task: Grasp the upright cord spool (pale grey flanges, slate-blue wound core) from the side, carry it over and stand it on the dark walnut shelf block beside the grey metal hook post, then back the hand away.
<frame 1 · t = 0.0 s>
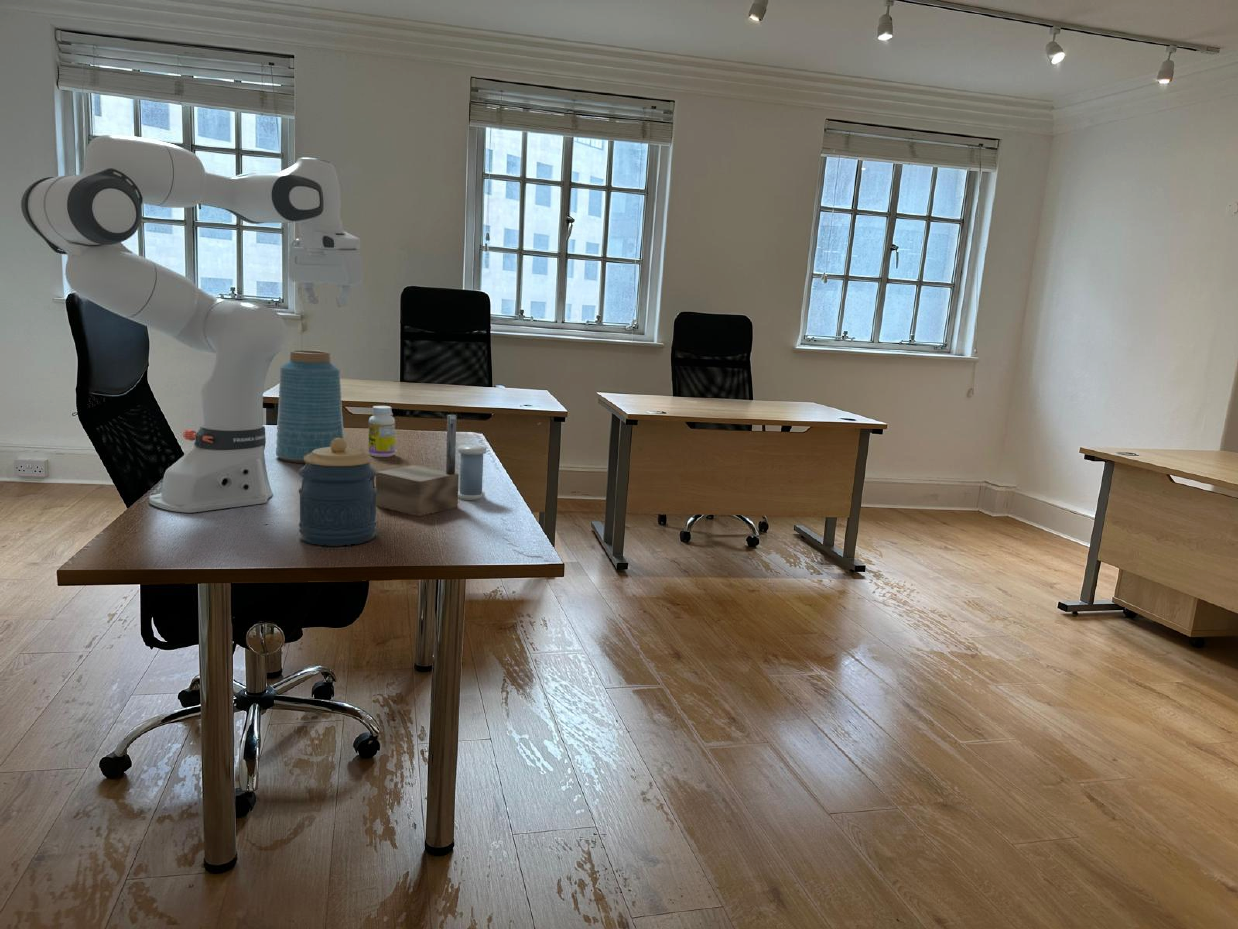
hand: (327, 305, 183), 39 cm above the table, tool pointing down, fingers open, 8 cm apart
supplement bottle: (381, 456, 222), on the table
canister: (338, 538, 148), on the table
hook post: (449, 506, 174), resting on walnut shelf block
cord spool: (470, 497, 183), on the table
walnut shelf block: (417, 506, 172), on the table
vase: (310, 458, 213), on the table
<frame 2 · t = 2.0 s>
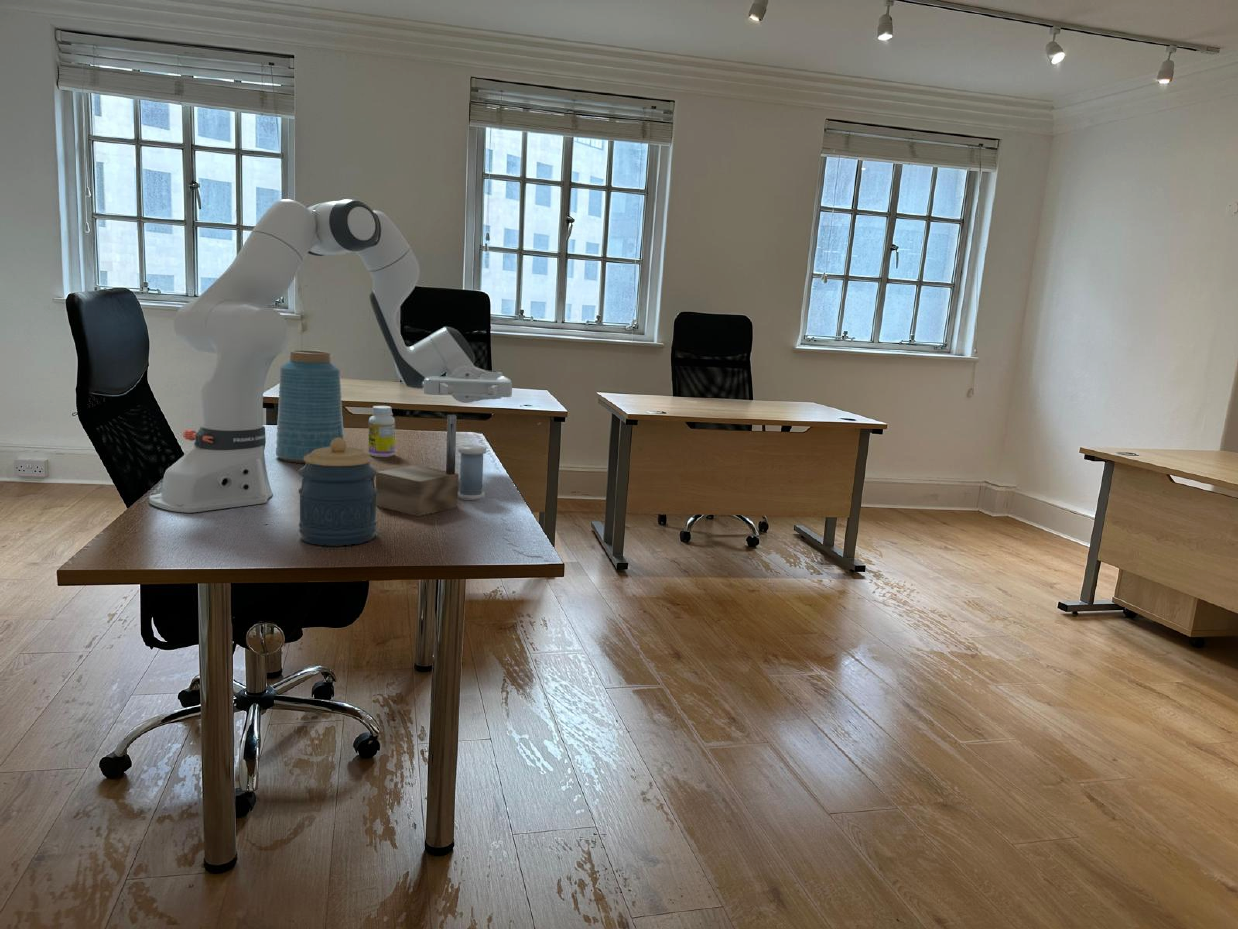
hand: (470, 390, 189), 22 cm above the table, tool horizontal, fingers open, 8 cm apart
nothing on the table moved.
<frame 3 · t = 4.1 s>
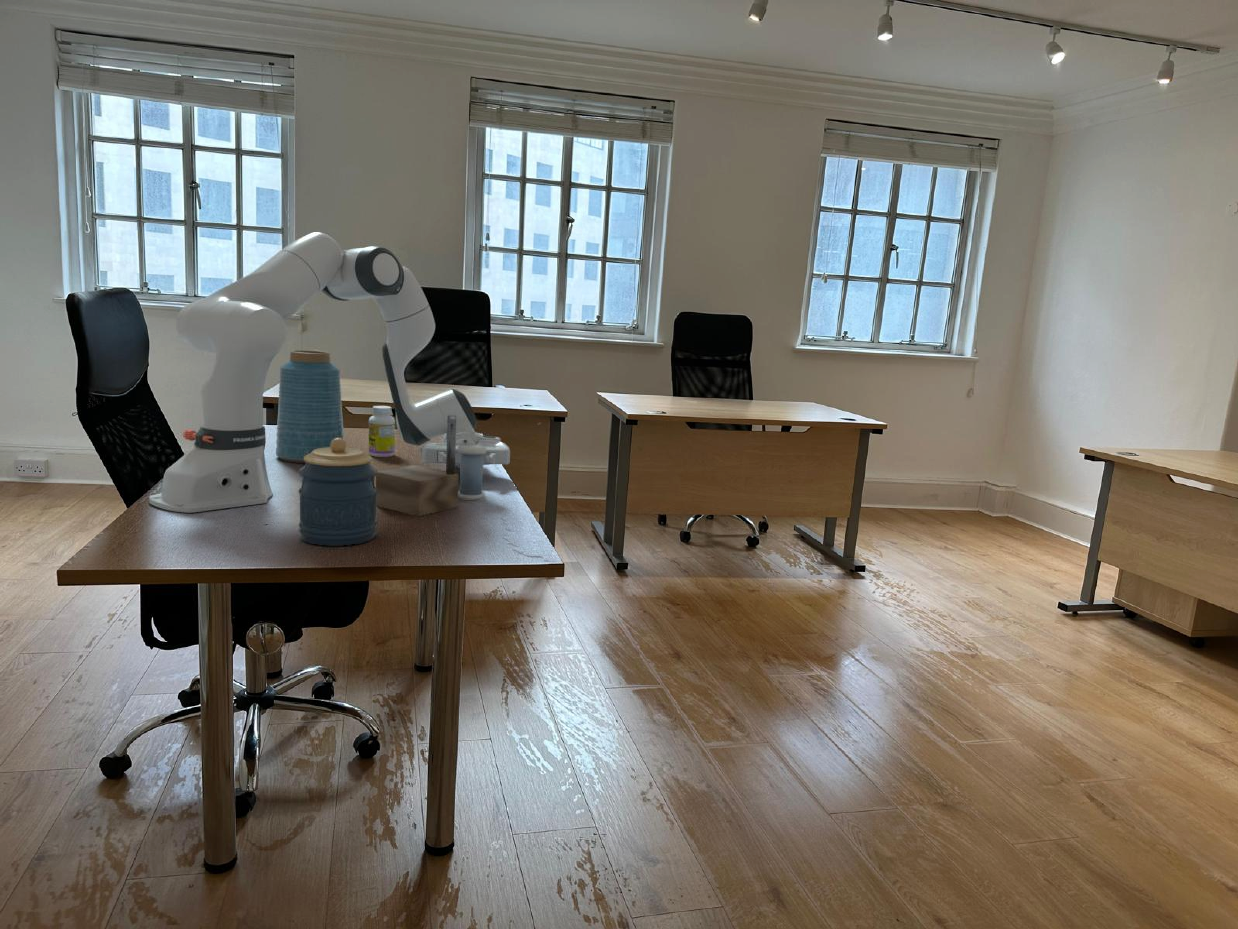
hand: (468, 460, 190), 6 cm above the table, tool horizontal, fingers open, 8 cm apart
nothing on the table moved.
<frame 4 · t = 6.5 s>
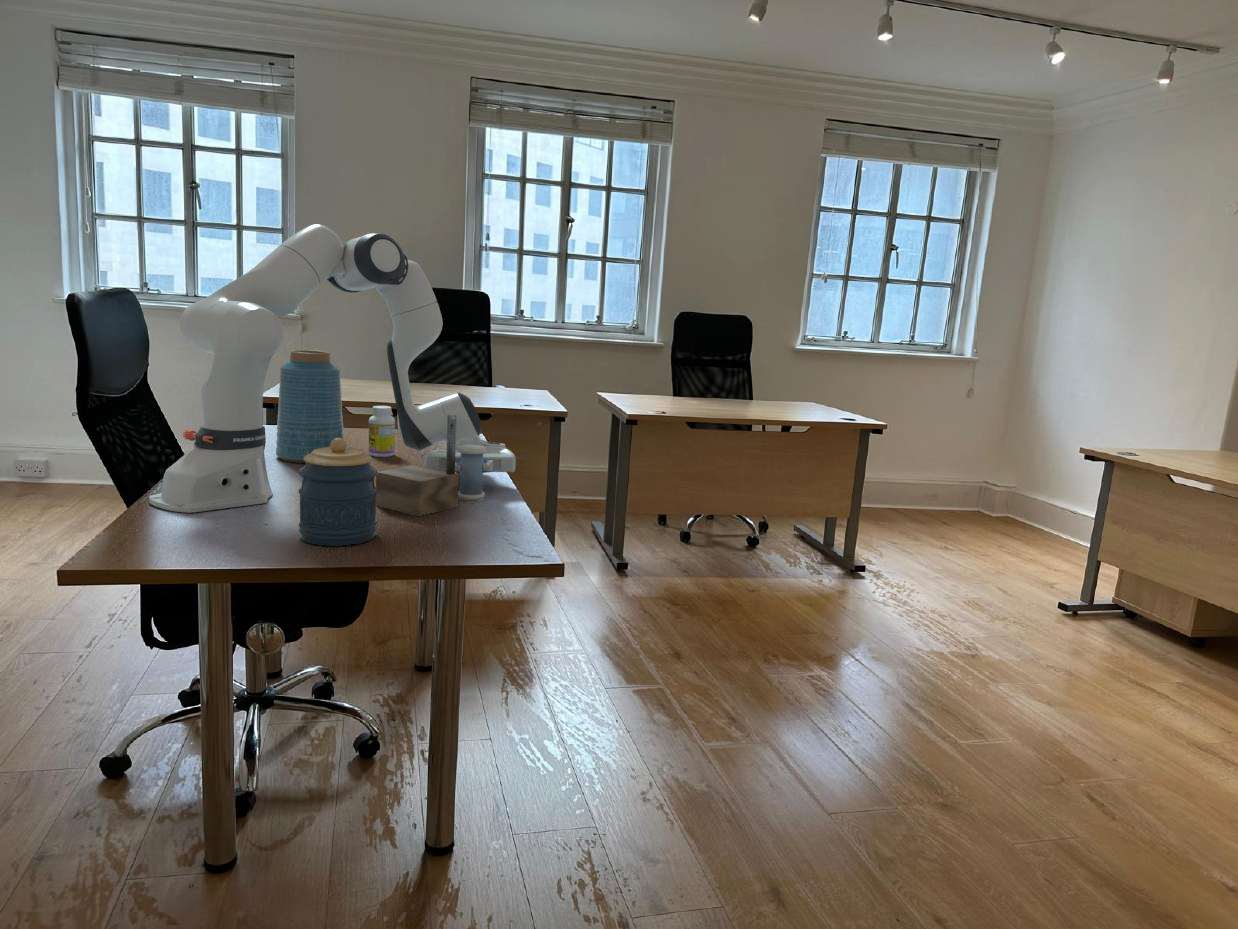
hand: (471, 468, 181), 7 cm above the table, tool horizontal, fingers closed on cord spool, 5 cm apart
cord spool: (470, 497, 183), on the table, touching gripper
everything else where it was.
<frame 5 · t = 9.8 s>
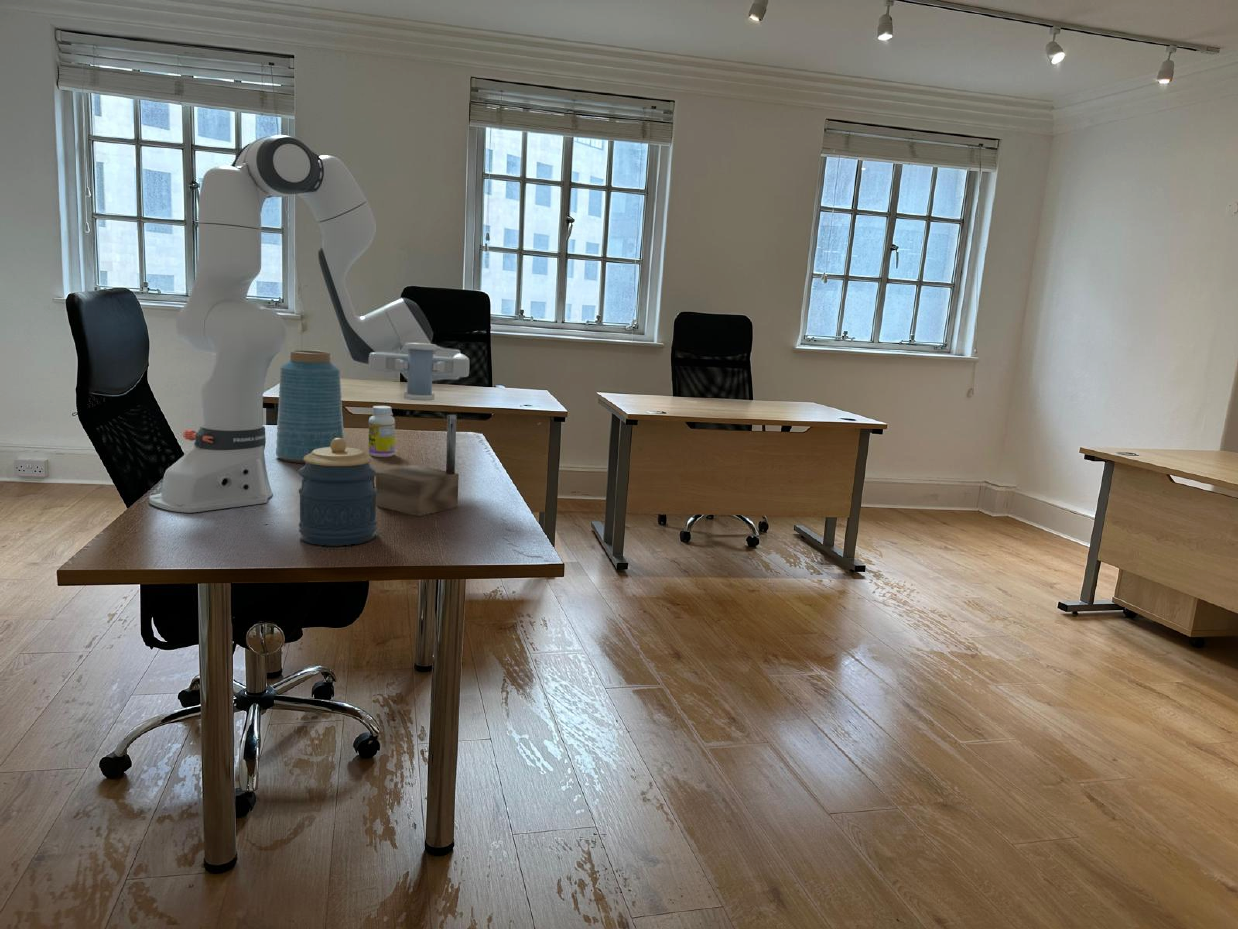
hand: (420, 366, 168), 28 cm above the table, tool horizontal, fingers closed on cord spool, 5 cm apart
cord spool: (419, 398, 170), point 22 cm above the table, touching gripper
everything else where it was.
when the fingers open (15 cm above the table, at t = 13.2 s): cord spool drops 1 cm, resting on walnut shelf block.
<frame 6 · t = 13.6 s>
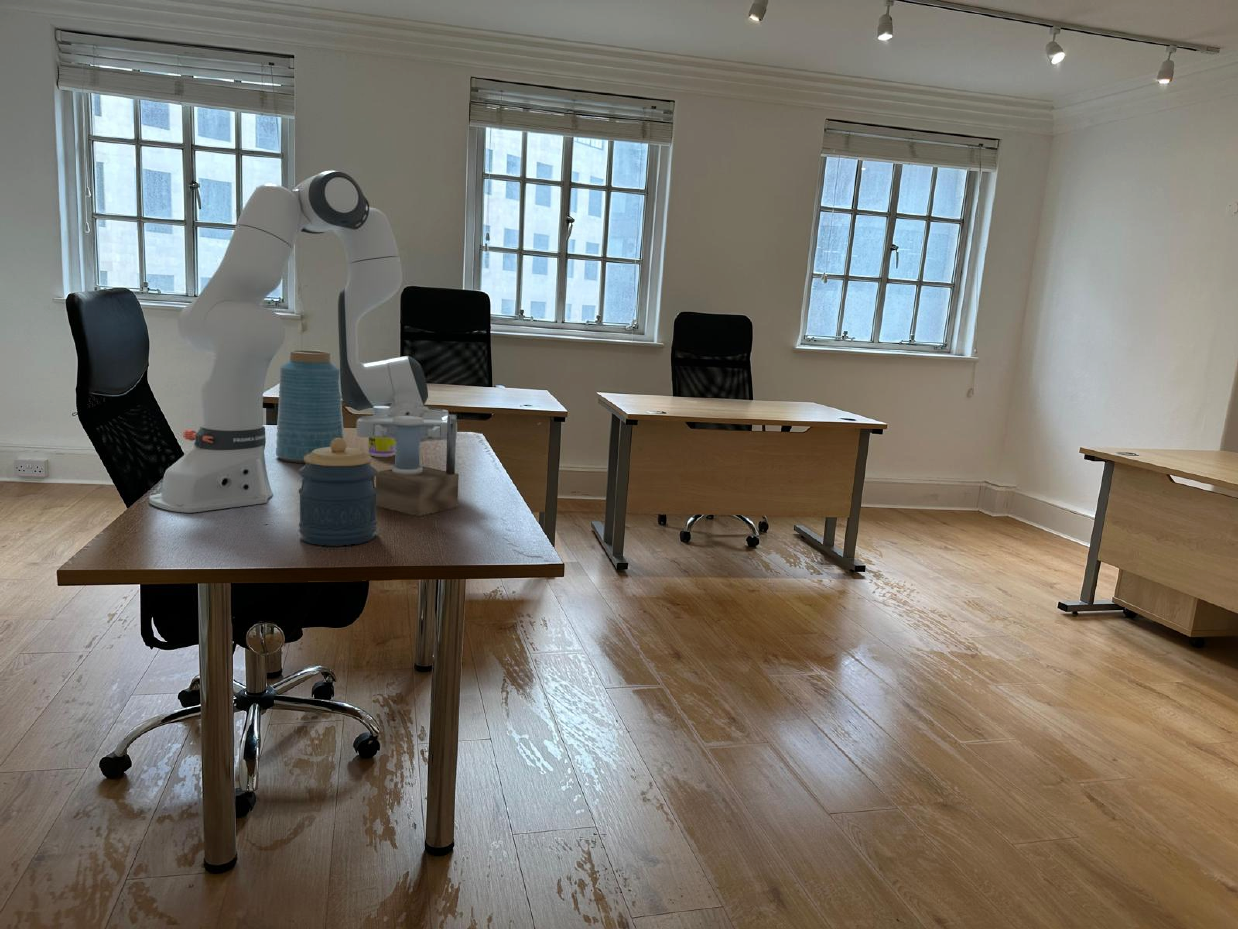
hand: (407, 433, 169), 15 cm above the table, tool horizontal, fingers open, 8 cm apart
cord spool: (407, 472, 171), point 7 cm above the table, touching walnut shelf block
everything else where it was.
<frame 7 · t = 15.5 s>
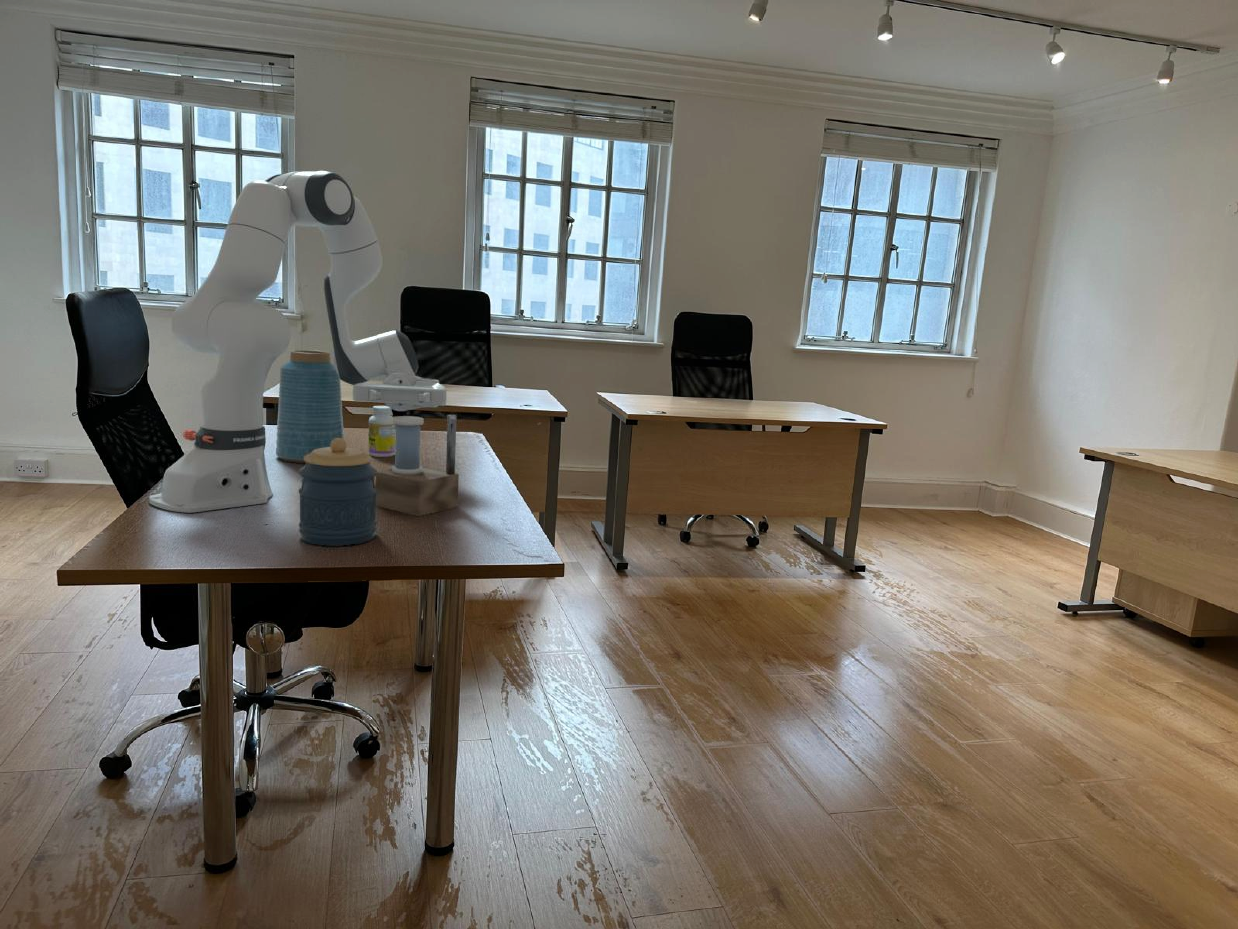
hand: (399, 397, 182), 20 cm above the table, tool horizontal, fingers open, 8 cm apart
nothing on the table moved.
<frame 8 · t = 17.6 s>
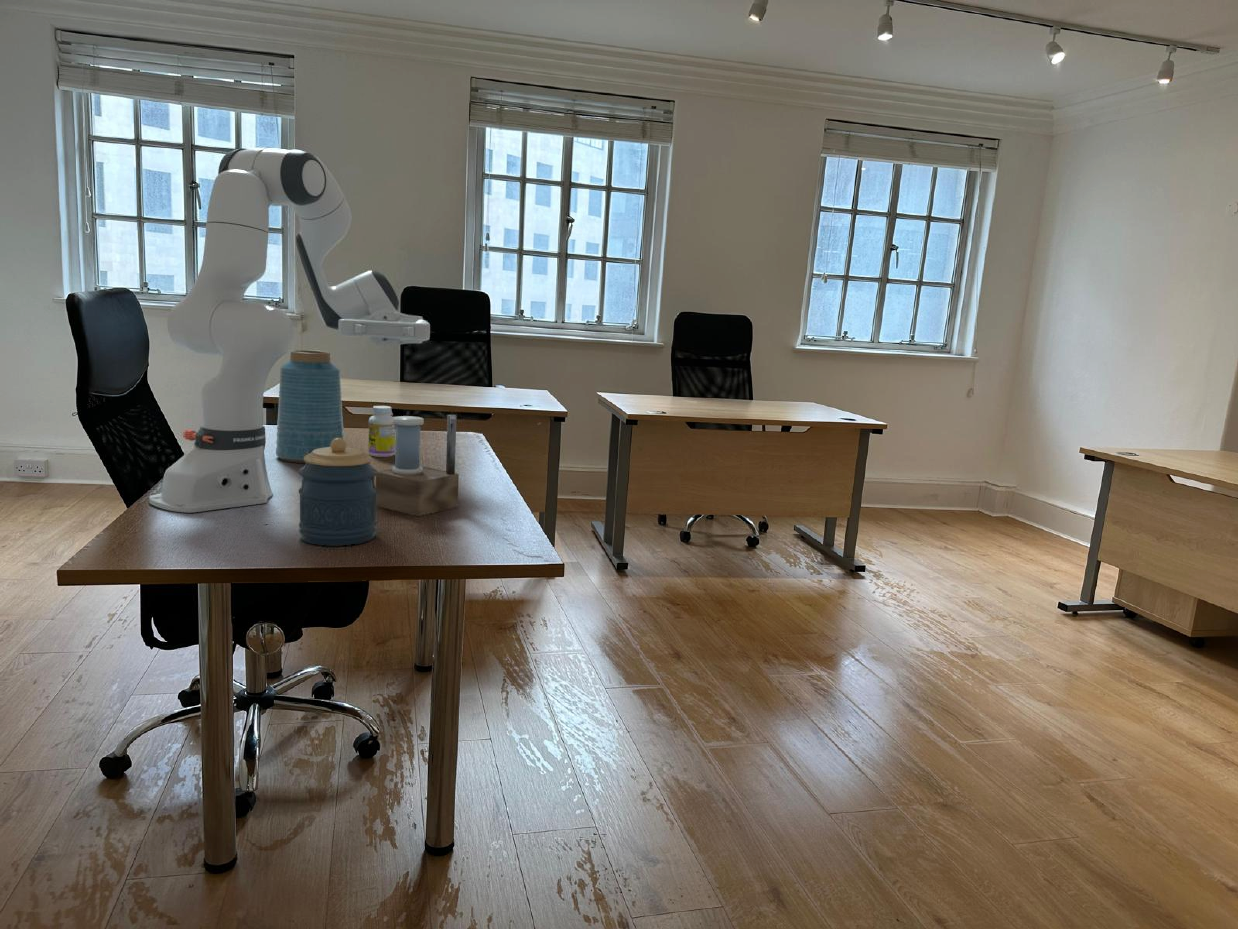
hand: (384, 330, 187), 34 cm above the table, tool horizontal, fingers open, 8 cm apart
nothing on the table moved.
at the end: cord spool inside the target area (0.1 cm from its centre), point 7.0 cm above the table; cord spool tilted 0°; the gripper is holding nothing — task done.
